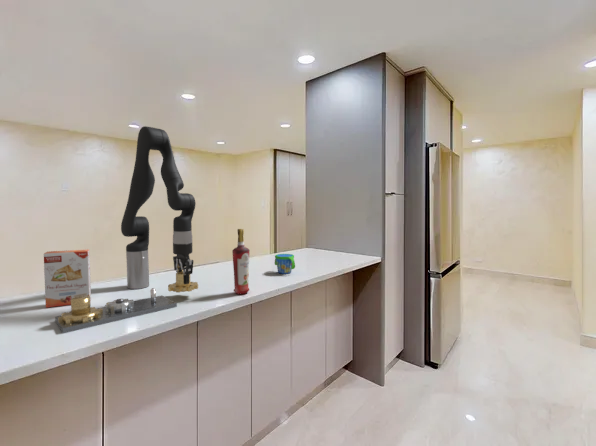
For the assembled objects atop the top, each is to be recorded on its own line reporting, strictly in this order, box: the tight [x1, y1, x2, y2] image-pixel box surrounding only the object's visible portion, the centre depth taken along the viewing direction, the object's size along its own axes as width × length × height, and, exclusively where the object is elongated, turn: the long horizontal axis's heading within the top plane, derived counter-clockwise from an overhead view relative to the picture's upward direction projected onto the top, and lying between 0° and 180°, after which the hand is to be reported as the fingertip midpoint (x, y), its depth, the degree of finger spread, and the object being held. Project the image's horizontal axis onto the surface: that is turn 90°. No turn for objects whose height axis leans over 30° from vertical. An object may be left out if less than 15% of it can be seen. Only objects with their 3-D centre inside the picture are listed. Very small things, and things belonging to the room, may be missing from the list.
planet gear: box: [167, 272, 199, 293], centre depth 131 cm, size 12×12×6 cm
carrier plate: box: [54, 287, 178, 334], centre depth 112 cm, size 14×35×8 cm, turn 135°
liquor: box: [232, 228, 250, 295], centre depth 137 cm, size 7×7×28 cm
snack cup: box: [274, 253, 296, 275], centre depth 178 cm, size 16×10×10 cm
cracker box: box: [43, 249, 92, 309], centre depth 123 cm, size 14×6×21 cm, turn 117°
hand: (183, 282), depth 131 cm, fingers closed on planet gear, 5 cm apart
